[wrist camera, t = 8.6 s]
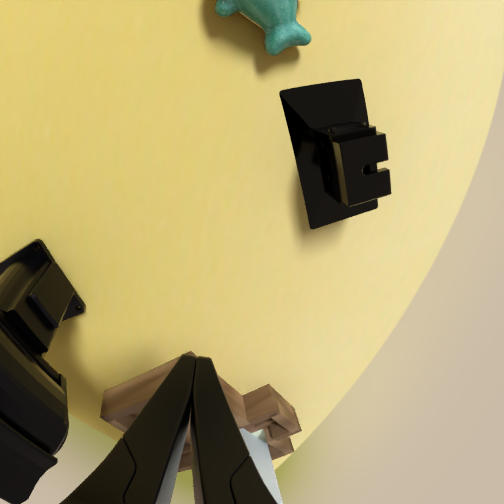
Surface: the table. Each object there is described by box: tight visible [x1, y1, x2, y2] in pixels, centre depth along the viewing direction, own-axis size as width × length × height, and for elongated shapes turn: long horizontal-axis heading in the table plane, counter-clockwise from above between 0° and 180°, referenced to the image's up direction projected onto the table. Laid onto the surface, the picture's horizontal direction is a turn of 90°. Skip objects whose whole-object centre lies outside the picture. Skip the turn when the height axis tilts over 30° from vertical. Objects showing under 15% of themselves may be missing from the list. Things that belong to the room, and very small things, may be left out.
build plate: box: [279, 79, 391, 229], centre depth 17 cm, size 12×7×5 cm, turn 15°
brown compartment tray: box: [100, 351, 302, 472], centre depth 28 cm, size 20×17×3 cm
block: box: [239, 428, 283, 504], centre depth 27 cm, size 6×6×11 cm
